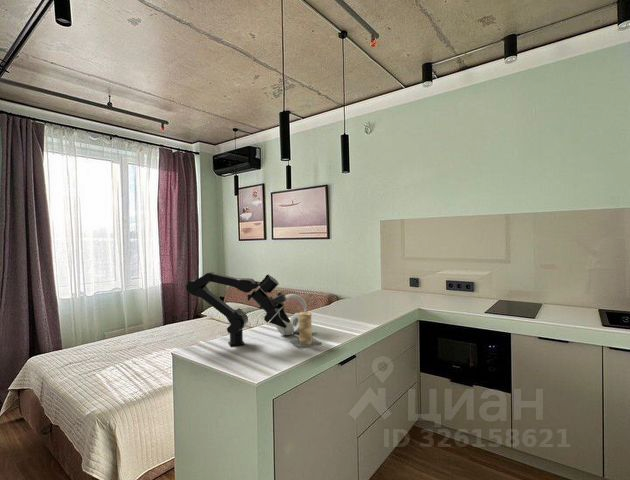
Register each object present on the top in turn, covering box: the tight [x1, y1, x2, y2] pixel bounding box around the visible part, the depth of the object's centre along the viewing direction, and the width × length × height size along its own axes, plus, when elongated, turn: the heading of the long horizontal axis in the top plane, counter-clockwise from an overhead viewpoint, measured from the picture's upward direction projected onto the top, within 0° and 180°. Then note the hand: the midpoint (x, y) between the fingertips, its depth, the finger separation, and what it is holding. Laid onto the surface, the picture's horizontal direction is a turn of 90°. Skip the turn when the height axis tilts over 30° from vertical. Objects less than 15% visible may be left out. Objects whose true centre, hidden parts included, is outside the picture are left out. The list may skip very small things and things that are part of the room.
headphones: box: [275, 293, 308, 336], centre depth 163 cm, size 18×10×20 cm, turn 126°
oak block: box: [298, 311, 313, 344], centre depth 146 cm, size 5×5×13 cm
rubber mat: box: [289, 336, 322, 349], centre depth 148 cm, size 11×11×1 cm
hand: (287, 324), depth 147 cm, fingers open, 9 cm apart
